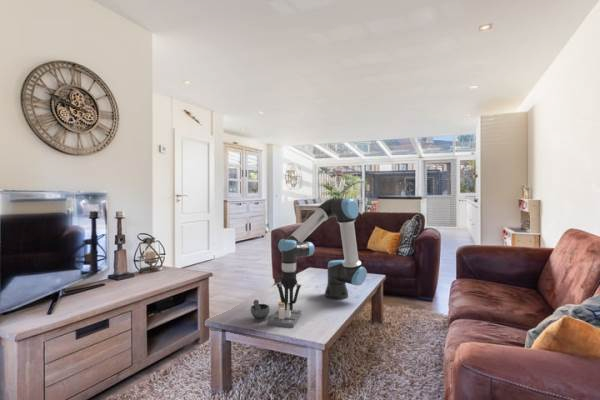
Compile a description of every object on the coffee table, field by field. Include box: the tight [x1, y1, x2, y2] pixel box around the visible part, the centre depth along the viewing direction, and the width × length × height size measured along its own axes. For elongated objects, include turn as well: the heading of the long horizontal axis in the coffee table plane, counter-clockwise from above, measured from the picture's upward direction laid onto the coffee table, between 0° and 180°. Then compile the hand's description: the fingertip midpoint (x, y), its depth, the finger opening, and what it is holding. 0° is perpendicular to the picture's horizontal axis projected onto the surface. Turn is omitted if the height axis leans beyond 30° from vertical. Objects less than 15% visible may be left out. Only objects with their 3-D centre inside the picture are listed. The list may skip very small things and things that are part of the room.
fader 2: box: [279, 308, 286, 319], centre depth 164 cm, size 3×3×5 cm
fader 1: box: [277, 301, 285, 312], centre depth 173 cm, size 3×3×5 cm
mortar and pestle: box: [250, 299, 270, 323], centre depth 166 cm, size 11×9×12 cm
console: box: [268, 309, 302, 328], centre depth 168 cm, size 13×18×2 cm
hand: (288, 316), depth 163 cm, fingers closed
